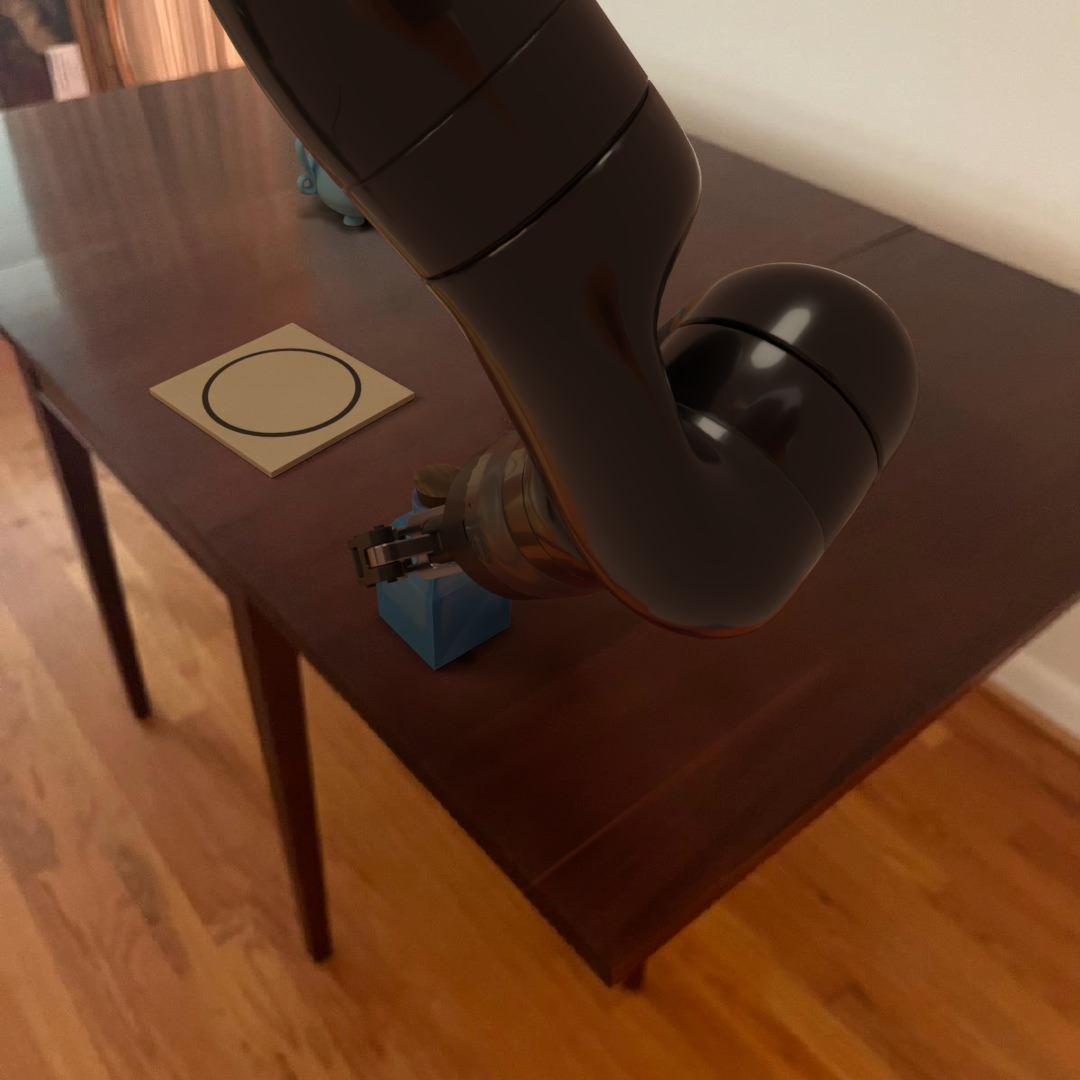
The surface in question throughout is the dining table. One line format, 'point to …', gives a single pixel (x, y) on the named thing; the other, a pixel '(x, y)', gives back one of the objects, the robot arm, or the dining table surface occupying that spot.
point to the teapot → (325, 188)
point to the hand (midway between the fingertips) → (463, 539)
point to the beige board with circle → (281, 397)
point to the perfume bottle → (440, 592)
